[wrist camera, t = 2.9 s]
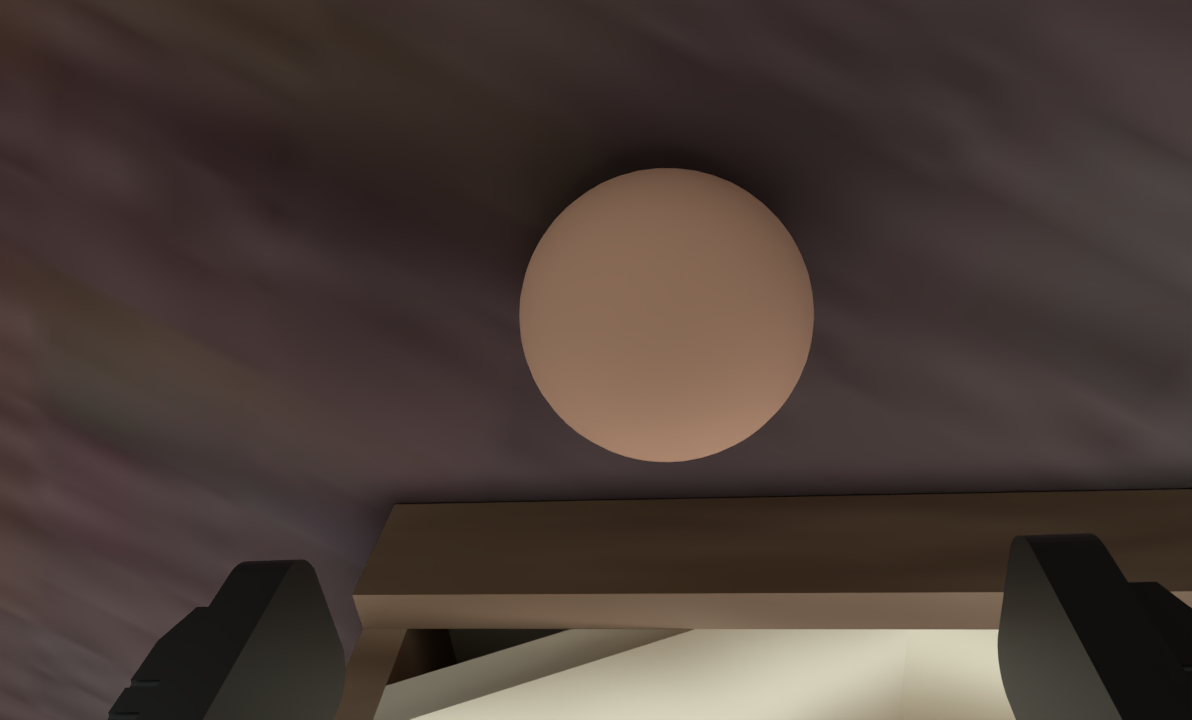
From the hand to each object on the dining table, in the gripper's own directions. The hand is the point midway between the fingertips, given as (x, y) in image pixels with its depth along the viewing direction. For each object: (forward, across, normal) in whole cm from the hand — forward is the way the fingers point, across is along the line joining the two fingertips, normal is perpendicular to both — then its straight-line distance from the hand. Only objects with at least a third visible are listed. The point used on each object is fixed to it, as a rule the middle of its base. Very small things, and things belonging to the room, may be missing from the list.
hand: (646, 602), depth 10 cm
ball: (+6, 0, -1) cm, 6 cm away
